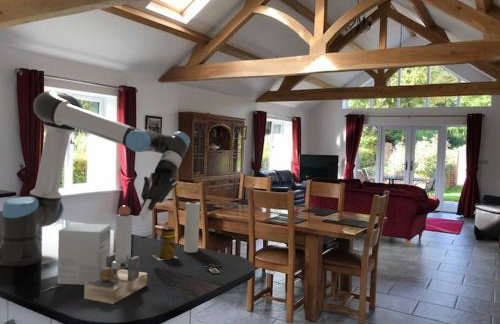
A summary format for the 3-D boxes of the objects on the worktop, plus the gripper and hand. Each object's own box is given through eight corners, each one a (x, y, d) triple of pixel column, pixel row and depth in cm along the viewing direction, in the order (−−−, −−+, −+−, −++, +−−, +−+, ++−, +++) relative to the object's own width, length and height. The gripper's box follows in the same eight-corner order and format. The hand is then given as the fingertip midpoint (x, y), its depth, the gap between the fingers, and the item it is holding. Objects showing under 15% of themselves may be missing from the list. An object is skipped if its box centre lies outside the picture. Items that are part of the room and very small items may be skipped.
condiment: (178, 258, 174) (179, 229, 173) (158, 260, 169) (159, 230, 168) (171, 254, 180) (172, 225, 179) (151, 256, 175) (152, 227, 175)
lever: (117, 263, 137) (119, 204, 137) (134, 266, 135) (136, 205, 135) (107, 268, 132) (109, 206, 132) (124, 270, 130) (126, 207, 130)
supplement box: (110, 273, 150) (111, 224, 150) (98, 285, 137) (99, 231, 137) (72, 271, 150) (73, 222, 149) (56, 284, 137) (57, 230, 136)
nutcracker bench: (120, 280, 143) (121, 249, 142) (146, 285, 140) (147, 253, 139) (84, 298, 126) (85, 263, 125) (112, 303, 123) (114, 267, 122)
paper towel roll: (186, 253, 181) (188, 203, 180) (181, 250, 187) (183, 201, 186) (202, 252, 185) (204, 203, 184) (197, 248, 190) (199, 201, 189)
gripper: (149, 157, 158) (121, 208, 143) (180, 159, 154) (156, 211, 139) (156, 171, 164) (130, 221, 148) (187, 173, 160) (163, 225, 144)
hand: (142, 216), depth 144 cm, fingers closed
